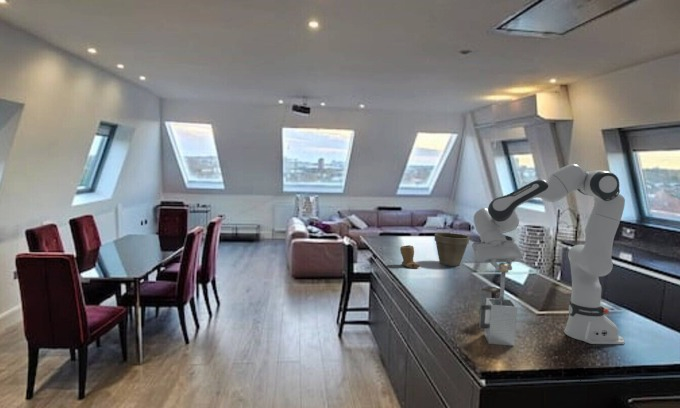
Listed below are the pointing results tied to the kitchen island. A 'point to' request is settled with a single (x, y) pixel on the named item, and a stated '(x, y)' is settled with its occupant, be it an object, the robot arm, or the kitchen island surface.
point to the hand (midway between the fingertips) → (504, 269)
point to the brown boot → (408, 256)
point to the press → (499, 321)
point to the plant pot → (451, 247)
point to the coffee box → (488, 295)
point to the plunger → (502, 281)
